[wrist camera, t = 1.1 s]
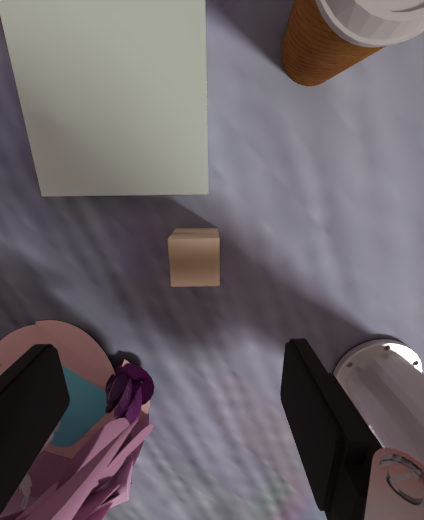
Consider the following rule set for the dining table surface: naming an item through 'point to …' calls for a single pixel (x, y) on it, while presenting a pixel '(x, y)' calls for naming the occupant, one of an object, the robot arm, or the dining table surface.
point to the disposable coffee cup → (344, 34)
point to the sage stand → (112, 94)
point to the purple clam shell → (82, 429)
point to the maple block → (194, 257)
